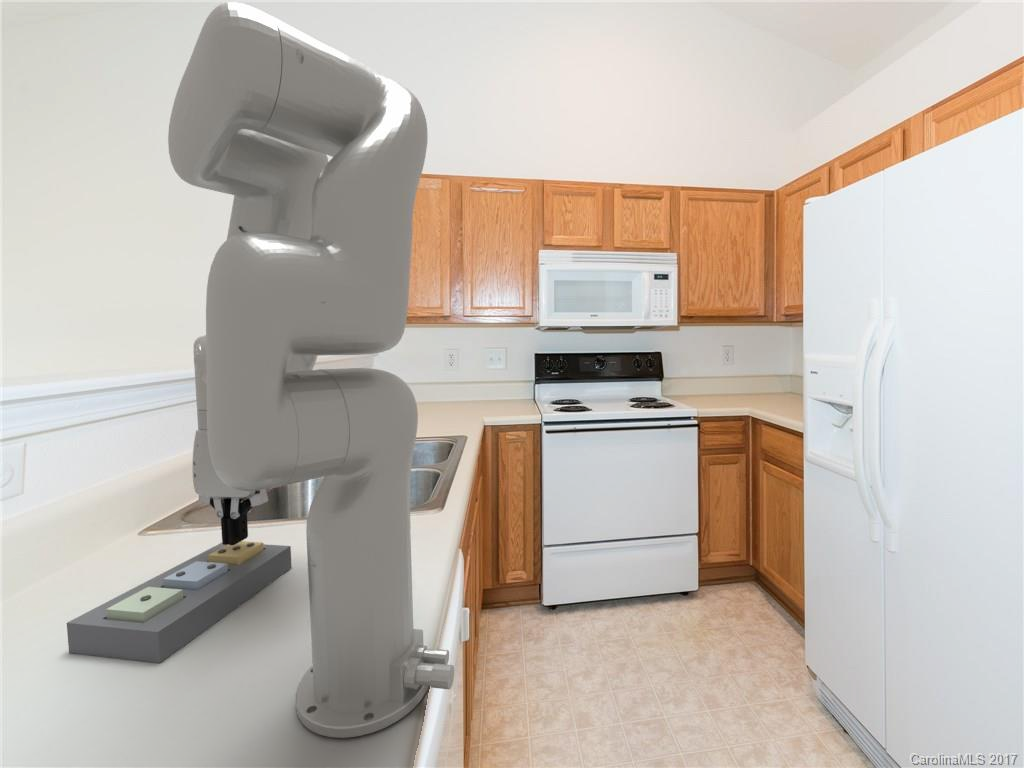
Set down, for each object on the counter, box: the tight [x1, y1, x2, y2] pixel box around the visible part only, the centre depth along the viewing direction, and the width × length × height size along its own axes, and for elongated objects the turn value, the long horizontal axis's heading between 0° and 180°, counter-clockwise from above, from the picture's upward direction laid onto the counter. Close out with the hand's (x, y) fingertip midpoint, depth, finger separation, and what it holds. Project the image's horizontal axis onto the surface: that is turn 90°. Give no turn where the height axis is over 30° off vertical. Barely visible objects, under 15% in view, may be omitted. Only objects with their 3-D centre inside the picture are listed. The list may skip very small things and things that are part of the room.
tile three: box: [208, 540, 264, 565], centre depth 67 cm, size 5×5×2 cm
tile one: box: [106, 587, 183, 623], centre depth 53 cm, size 5×5×2 cm
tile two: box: [163, 561, 228, 590], centre depth 60 cm, size 5×5×2 cm
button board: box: [66, 542, 293, 664], centre depth 60 cm, size 12×22×4 cm, turn 170°
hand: (235, 541), depth 67 cm, fingers closed
